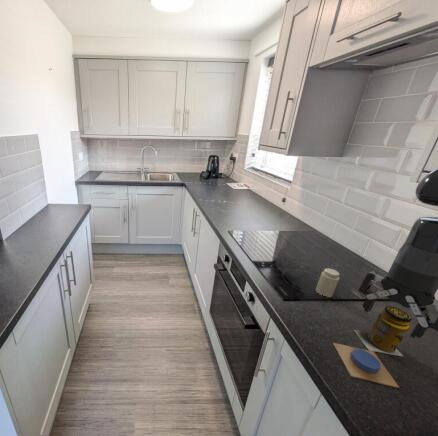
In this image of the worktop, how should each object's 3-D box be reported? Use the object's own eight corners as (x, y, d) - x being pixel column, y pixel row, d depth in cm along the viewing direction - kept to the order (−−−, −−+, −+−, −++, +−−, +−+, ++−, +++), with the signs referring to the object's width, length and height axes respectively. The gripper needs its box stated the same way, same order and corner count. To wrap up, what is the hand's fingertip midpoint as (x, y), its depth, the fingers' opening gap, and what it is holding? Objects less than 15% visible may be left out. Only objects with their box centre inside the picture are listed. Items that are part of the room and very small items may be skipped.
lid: (351, 365, 60) (353, 360, 60) (349, 349, 65) (351, 345, 64) (379, 378, 58) (382, 373, 57) (375, 361, 62) (378, 356, 61)
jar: (326, 288, 91) (335, 268, 87) (335, 298, 86) (344, 276, 82) (312, 287, 91) (320, 266, 88) (320, 296, 86) (328, 275, 83)
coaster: (373, 352, 65) (373, 351, 65) (398, 388, 56) (399, 387, 56) (332, 343, 67) (332, 342, 67) (350, 376, 58) (351, 375, 58)
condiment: (403, 356, 64) (424, 324, 59) (369, 350, 65) (386, 318, 61) (383, 335, 70) (401, 304, 66) (352, 330, 72) (367, 299, 67)
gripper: (370, 253, 54) (346, 307, 60) (466, 289, 42) (425, 352, 48) (385, 247, 57) (361, 299, 63) (478, 279, 45) (438, 340, 51)
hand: (389, 322), depth 56 cm, fingers open, 8 cm apart
